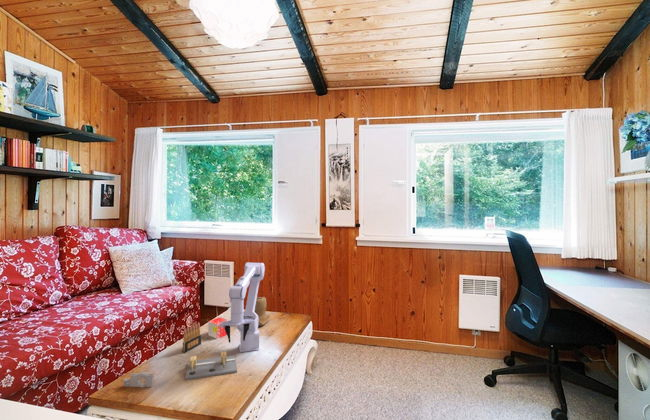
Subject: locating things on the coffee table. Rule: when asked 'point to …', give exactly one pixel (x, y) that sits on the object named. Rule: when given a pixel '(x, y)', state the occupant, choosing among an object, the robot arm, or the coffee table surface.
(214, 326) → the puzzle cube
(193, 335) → the ammunition clip
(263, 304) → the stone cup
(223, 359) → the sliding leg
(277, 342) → the coffee table surface
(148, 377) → the garden wall model
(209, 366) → the pitch plate
